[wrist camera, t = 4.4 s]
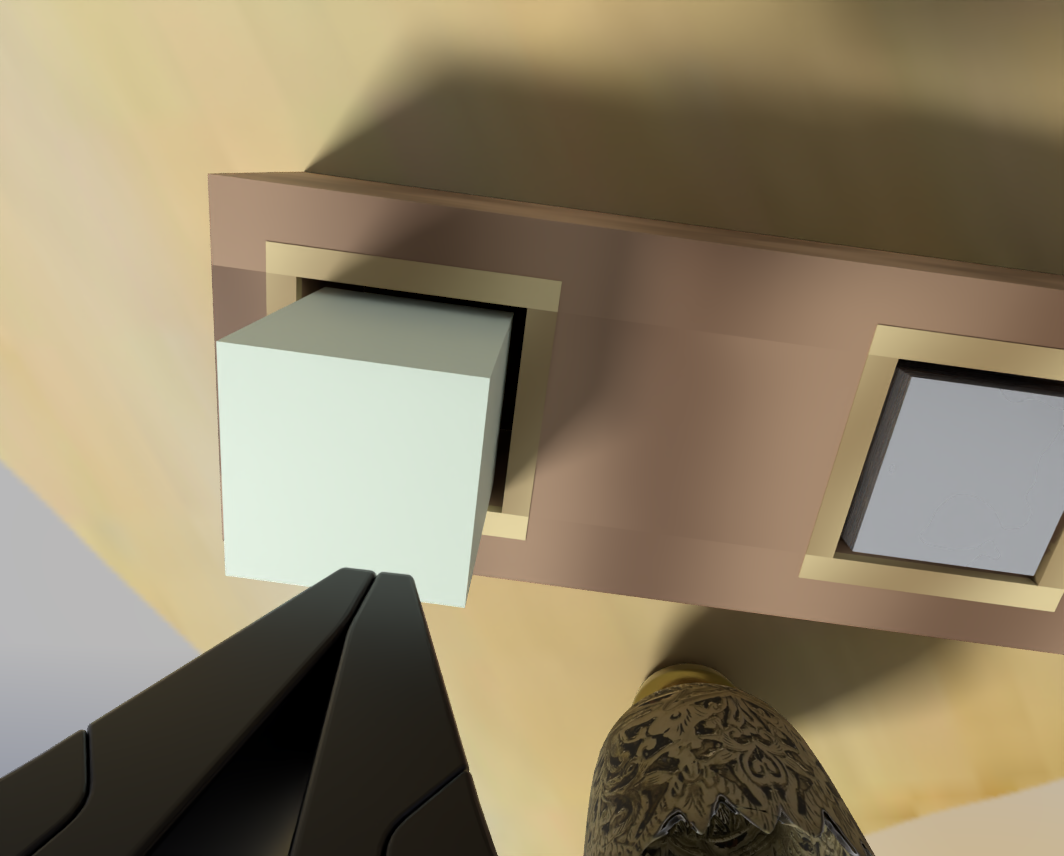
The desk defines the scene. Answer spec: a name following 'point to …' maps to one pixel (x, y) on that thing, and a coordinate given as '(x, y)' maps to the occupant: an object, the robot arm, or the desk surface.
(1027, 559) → the steel peg
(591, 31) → the desk surface
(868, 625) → the walnut bar
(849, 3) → the desk surface
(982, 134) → the desk surface
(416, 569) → the sage peg
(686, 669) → the cup
